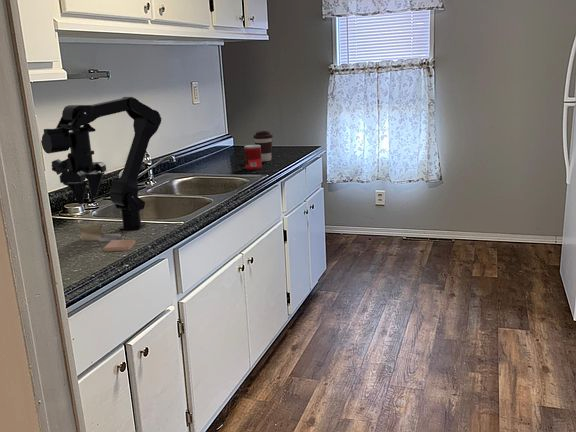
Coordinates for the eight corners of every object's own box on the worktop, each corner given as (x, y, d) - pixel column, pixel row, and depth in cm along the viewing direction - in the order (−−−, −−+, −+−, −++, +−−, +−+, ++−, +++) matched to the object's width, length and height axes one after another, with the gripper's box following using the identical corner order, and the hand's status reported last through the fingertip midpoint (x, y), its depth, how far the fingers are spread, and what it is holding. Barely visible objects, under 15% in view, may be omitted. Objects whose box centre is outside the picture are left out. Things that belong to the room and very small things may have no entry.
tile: (111, 240, 172) (135, 239, 172) (112, 245, 172) (135, 244, 172) (104, 247, 165) (128, 246, 165) (104, 252, 166) (129, 251, 166)
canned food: (265, 167, 284) (263, 145, 281) (253, 170, 279) (251, 147, 276) (254, 166, 289) (253, 144, 287) (242, 168, 284) (240, 146, 281)
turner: (87, 236, 181) (85, 224, 180) (121, 236, 180) (119, 223, 179) (79, 241, 176) (78, 228, 175) (114, 241, 175) (113, 228, 174)
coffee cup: (271, 162, 299) (270, 132, 295) (252, 162, 301) (251, 133, 297) (275, 158, 309) (274, 130, 305) (257, 159, 310) (255, 130, 307)
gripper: (69, 144, 181) (76, 194, 185) (38, 154, 163) (46, 208, 167) (103, 143, 180) (110, 193, 184) (76, 153, 162) (83, 207, 166)
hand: (87, 200), depth 175 cm, fingers open, 9 cm apart
